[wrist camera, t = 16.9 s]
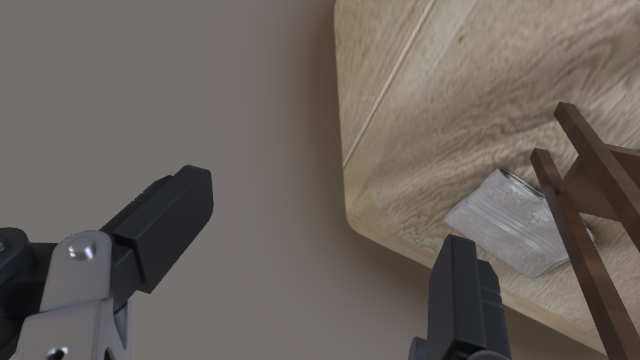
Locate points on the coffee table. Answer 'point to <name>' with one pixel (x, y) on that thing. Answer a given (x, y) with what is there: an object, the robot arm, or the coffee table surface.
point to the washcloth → (511, 224)
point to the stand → (599, 200)
